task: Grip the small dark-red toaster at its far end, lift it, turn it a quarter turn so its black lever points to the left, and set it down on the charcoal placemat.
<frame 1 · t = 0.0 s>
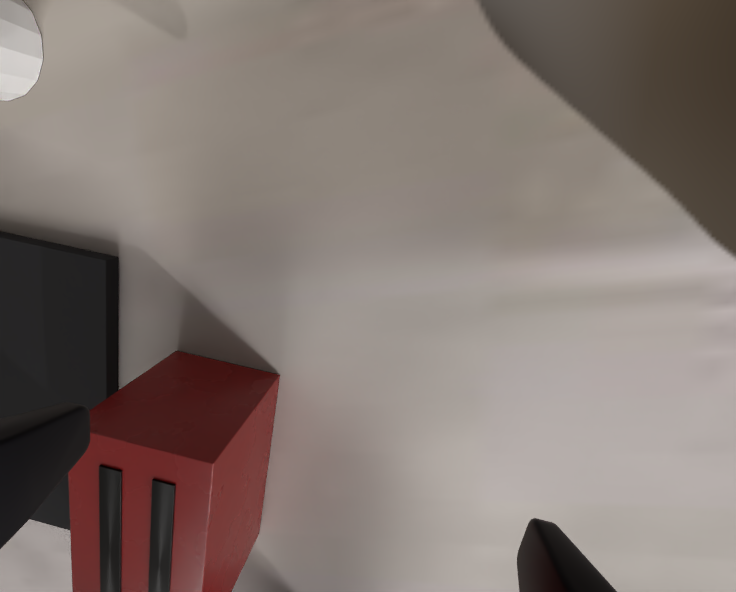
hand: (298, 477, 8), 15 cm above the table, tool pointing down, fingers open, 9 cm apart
toaster: (220, 446, 26), on the table
placemat: (11, 381, 27), on the table
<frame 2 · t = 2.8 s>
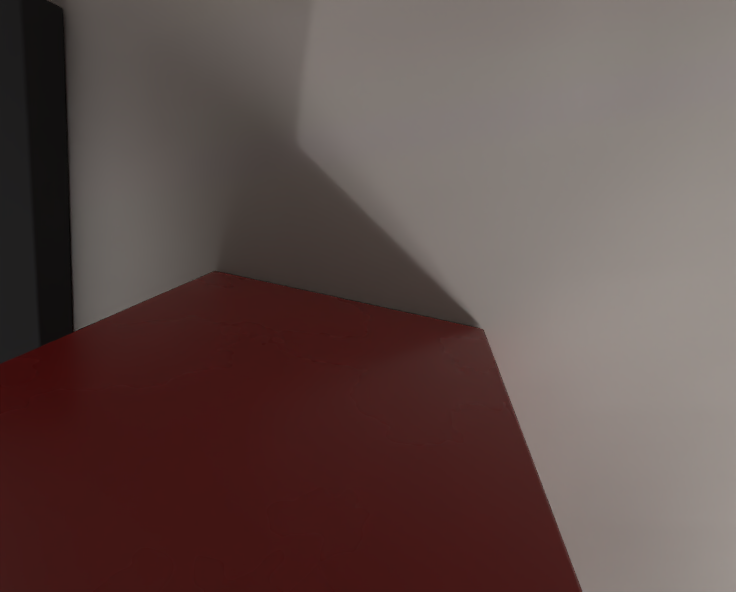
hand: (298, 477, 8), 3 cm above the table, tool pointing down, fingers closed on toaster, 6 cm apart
toaster: (310, 502, 11), on the table, touching gripper
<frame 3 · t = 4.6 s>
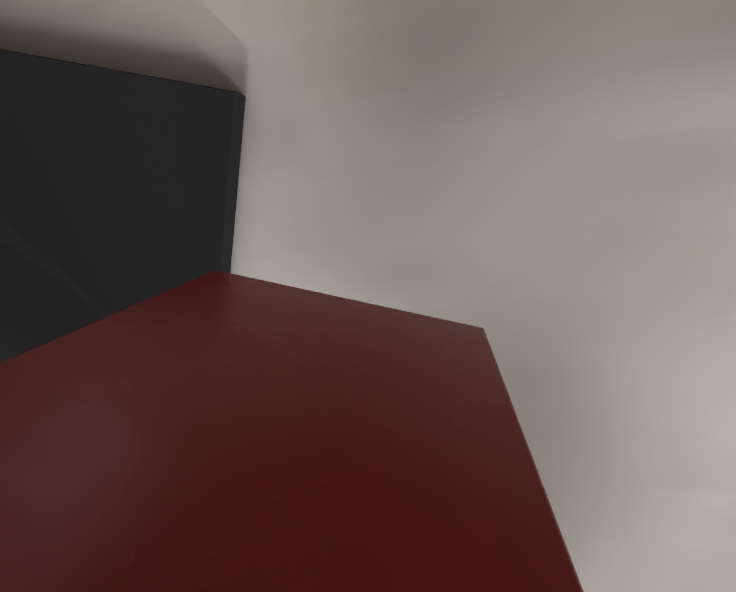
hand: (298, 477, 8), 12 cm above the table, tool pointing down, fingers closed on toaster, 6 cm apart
toaster: (310, 501, 11), point 9 cm above the table, touching gripper
placemat: (86, 283, 21), on the table
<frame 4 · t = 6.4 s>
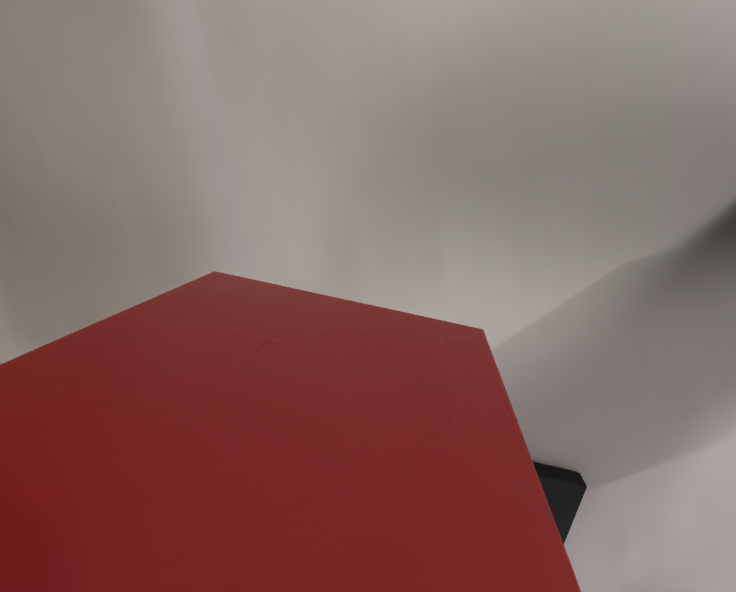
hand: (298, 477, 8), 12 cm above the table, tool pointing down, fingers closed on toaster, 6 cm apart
toaster: (309, 503, 11), point 10 cm above the table, touching gripper
placemat: (362, 537, 24), on the table
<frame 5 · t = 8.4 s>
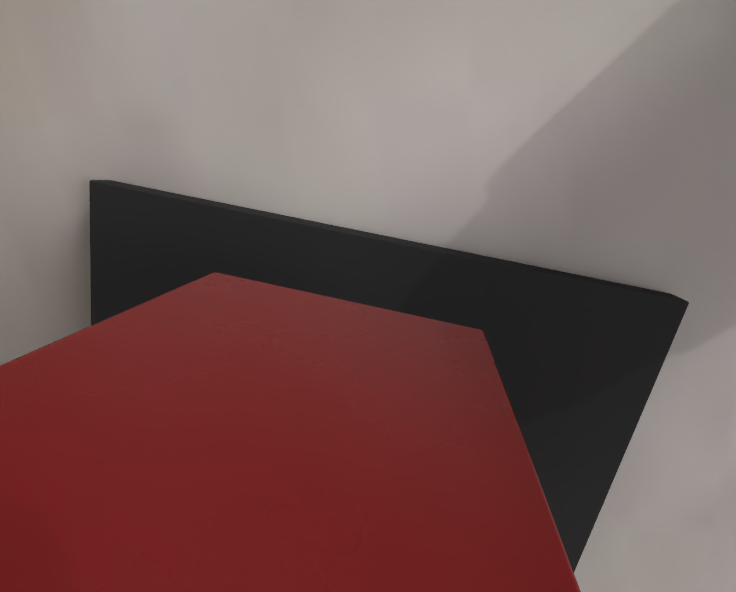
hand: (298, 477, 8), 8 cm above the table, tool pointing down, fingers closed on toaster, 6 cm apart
toaster: (309, 503, 11), point 5 cm above the table, touching gripper
placemat: (341, 418, 17), on the table
when the fingers open (4 cm above the table, at t = 9.9 s): toaster stays where it is, resting on placemat.
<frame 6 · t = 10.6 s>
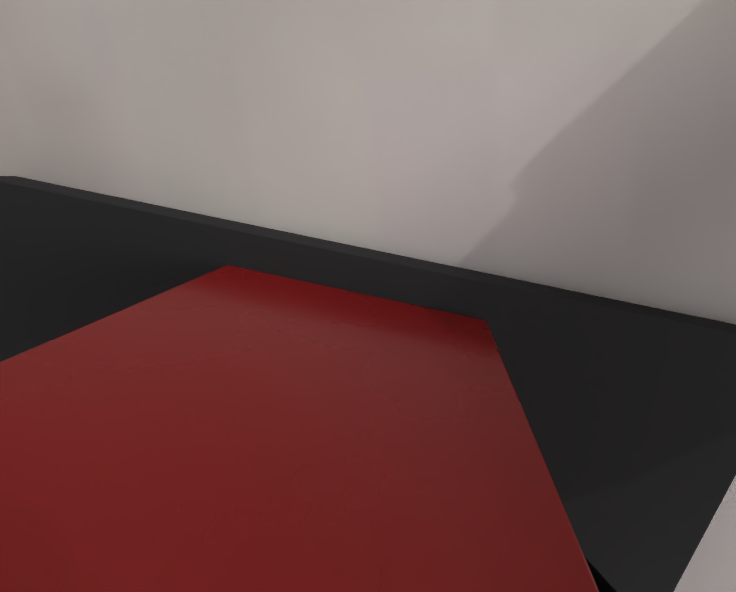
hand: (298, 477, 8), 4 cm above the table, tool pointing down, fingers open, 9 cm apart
toaster: (318, 489, 12), point 1 cm above the table, touching placemat
placemat: (322, 481, 13), on the table
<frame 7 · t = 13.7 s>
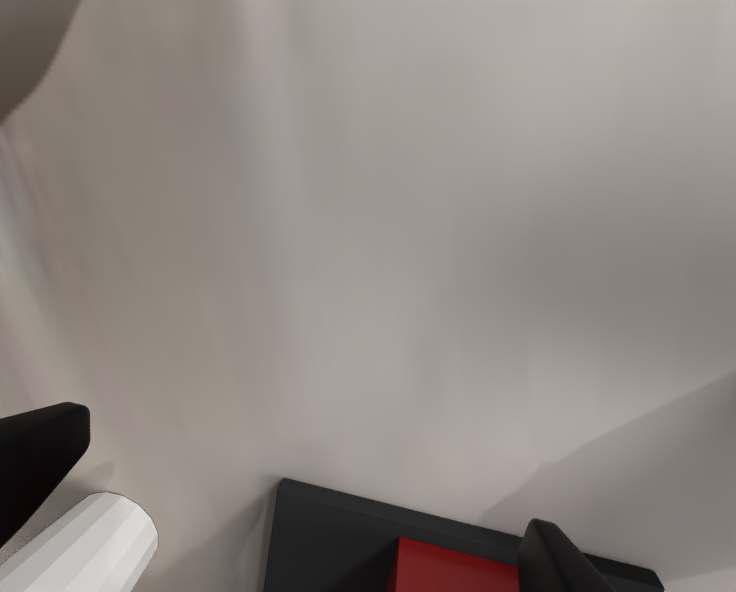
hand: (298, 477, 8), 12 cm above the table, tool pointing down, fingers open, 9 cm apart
shot glass: (118, 527, 26), on the table
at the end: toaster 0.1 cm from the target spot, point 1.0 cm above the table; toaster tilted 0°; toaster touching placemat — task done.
